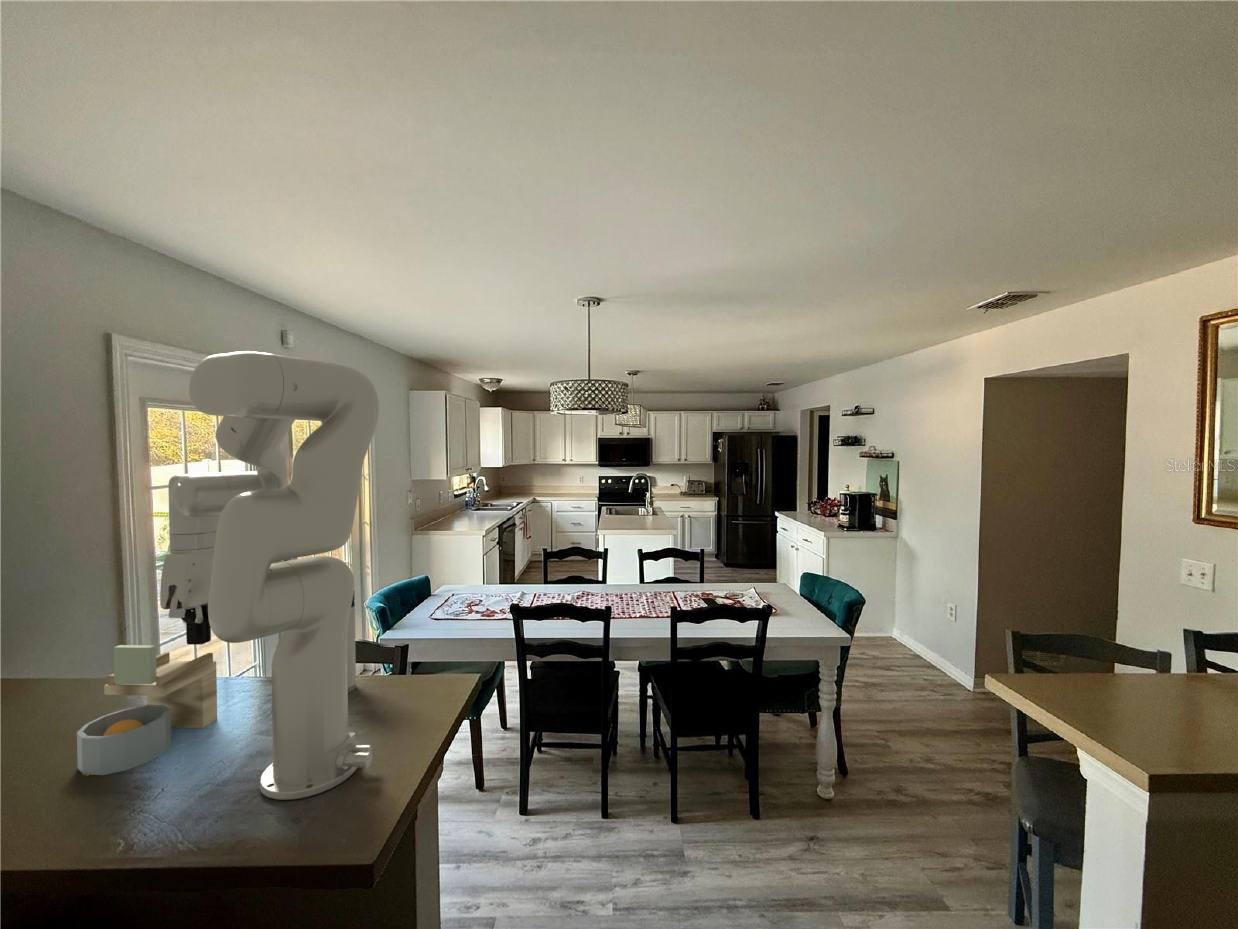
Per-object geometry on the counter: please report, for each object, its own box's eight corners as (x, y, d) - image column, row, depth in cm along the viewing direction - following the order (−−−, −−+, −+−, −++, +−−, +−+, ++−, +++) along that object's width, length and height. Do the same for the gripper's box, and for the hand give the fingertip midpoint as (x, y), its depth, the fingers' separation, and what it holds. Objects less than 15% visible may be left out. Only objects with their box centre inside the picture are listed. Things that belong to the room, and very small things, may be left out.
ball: (132, 718, 80) (117, 756, 77) (159, 720, 84) (145, 756, 82) (101, 718, 80) (84, 755, 78) (129, 720, 84) (114, 755, 82)
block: (161, 679, 84) (160, 643, 84) (150, 684, 82) (150, 647, 82) (125, 679, 84) (124, 643, 84) (114, 683, 82) (113, 647, 82)
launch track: (217, 719, 93) (216, 653, 92) (165, 750, 83) (164, 676, 82) (163, 718, 93) (161, 652, 93) (105, 749, 83) (104, 676, 83)
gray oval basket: (186, 738, 86) (185, 705, 86) (125, 776, 76) (124, 738, 76) (127, 737, 87) (126, 704, 87) (58, 775, 76) (57, 737, 76)
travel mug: (363, 683, 107) (362, 586, 107) (343, 698, 100) (341, 594, 100) (334, 682, 108) (333, 585, 107) (312, 697, 101) (311, 594, 101)
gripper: (210, 535, 102) (212, 629, 102) (137, 549, 87) (139, 658, 87) (248, 535, 102) (249, 629, 102) (180, 549, 87) (182, 659, 87)
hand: (198, 642), depth 95 cm, fingers closed
